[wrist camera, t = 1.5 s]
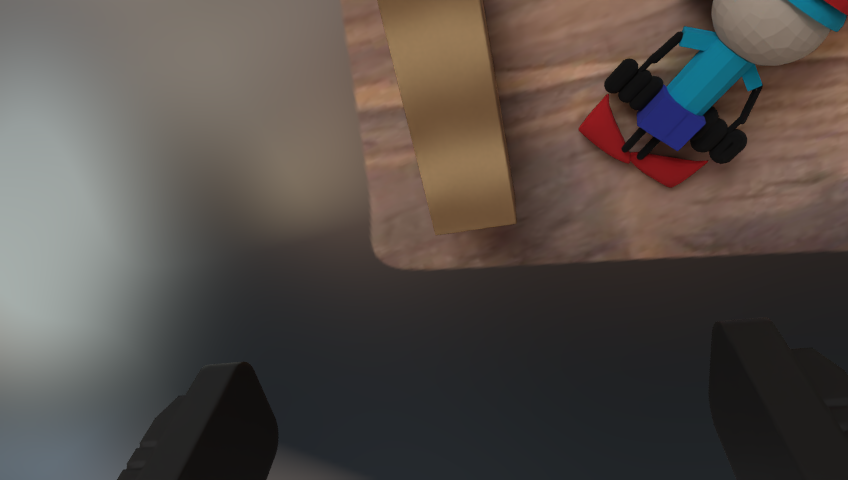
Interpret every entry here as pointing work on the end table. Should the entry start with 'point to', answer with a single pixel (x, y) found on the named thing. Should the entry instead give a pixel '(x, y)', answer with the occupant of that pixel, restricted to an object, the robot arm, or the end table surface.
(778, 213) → the end table surface
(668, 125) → the toy figure
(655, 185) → the end table surface
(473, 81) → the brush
